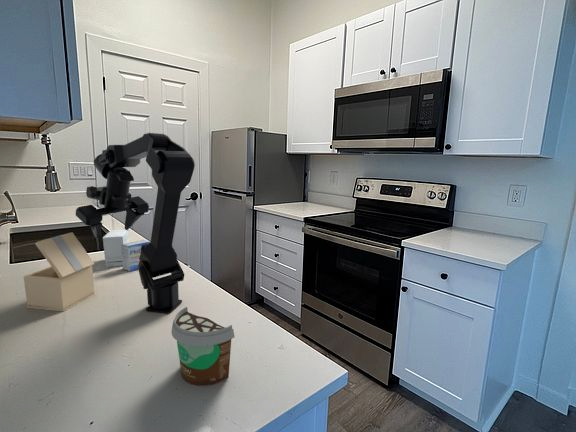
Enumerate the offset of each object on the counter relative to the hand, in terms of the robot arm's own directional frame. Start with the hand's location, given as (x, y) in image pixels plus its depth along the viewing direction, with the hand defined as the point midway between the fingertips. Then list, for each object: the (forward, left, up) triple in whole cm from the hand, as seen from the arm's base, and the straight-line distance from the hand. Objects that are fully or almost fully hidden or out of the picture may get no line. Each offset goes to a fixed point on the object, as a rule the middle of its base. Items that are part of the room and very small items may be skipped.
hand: (111, 233), depth 97 cm
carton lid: (0, +17, -2) cm, 17 cm away
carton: (+2, +17, -14) cm, 22 cm away
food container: (-44, +38, -14) cm, 60 cm away
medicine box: (-1, -10, -14) cm, 17 cm away
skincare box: (+9, -14, -14) cm, 22 cm away
